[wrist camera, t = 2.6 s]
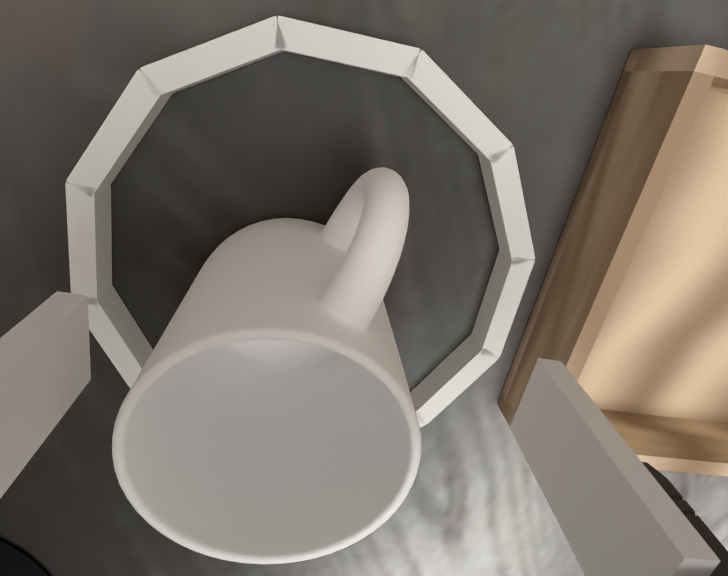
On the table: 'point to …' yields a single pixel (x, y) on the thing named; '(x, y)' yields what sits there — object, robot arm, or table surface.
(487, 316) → the socket ring
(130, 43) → the table surface
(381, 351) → the mug
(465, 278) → the table surface
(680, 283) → the oak bin
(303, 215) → the table surface
